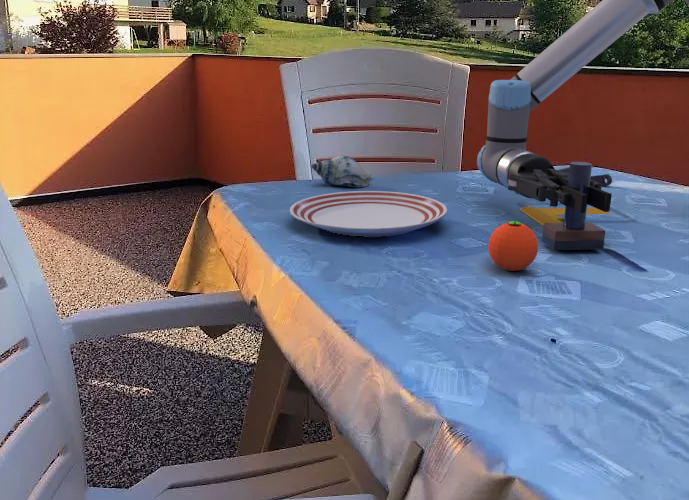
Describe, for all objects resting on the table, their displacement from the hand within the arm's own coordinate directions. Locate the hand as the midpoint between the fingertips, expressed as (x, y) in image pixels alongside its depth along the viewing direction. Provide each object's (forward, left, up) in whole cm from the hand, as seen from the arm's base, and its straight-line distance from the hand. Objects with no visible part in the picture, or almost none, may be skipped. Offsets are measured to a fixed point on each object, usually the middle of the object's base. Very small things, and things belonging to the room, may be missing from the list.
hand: (596, 203), depth 104 cm
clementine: (+13, +4, -9) cm, 17 cm away
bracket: (-25, -58, -9) cm, 64 cm away
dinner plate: (+30, -22, -9) cm, 39 cm away
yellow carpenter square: (-9, -24, -9) cm, 27 cm away
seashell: (+31, -56, -9) cm, 65 cm away
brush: (0, -5, -8) cm, 10 cm away
